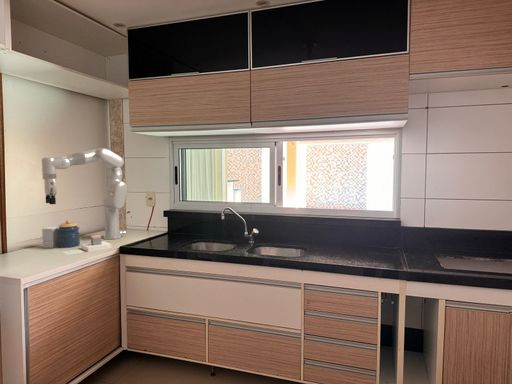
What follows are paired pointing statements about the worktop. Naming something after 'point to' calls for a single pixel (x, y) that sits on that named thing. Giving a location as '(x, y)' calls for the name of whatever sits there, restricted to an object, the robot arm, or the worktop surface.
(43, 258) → the worktop surface
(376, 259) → the worktop surface
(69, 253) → the mat
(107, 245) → the white flat block
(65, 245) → the canister
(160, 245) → the worktop surface
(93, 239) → the plug
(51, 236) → the supplement box
